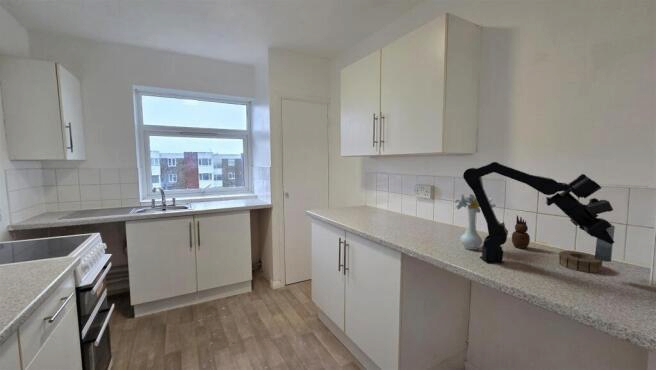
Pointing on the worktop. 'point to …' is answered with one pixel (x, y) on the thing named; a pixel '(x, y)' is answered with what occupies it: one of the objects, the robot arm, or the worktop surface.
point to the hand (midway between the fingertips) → (610, 241)
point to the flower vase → (471, 222)
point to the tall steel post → (604, 247)
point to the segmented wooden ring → (580, 261)
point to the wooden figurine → (520, 234)
